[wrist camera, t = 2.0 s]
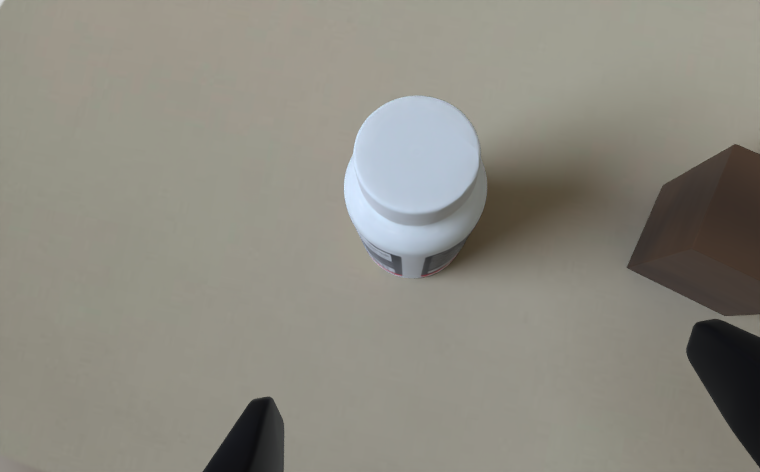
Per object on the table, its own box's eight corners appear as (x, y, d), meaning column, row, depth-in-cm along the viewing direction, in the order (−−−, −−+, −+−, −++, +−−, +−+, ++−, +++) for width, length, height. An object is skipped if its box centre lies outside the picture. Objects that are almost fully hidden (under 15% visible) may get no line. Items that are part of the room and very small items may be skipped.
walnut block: (725, 316, 20) (824, 311, 16) (625, 267, 21) (691, 248, 16) (759, 228, 21) (863, 197, 16) (662, 185, 22) (735, 143, 17)
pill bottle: (458, 178, 23) (495, 67, 13) (468, 276, 22) (518, 231, 12) (359, 185, 23) (326, 82, 14) (364, 283, 22) (332, 244, 12)
